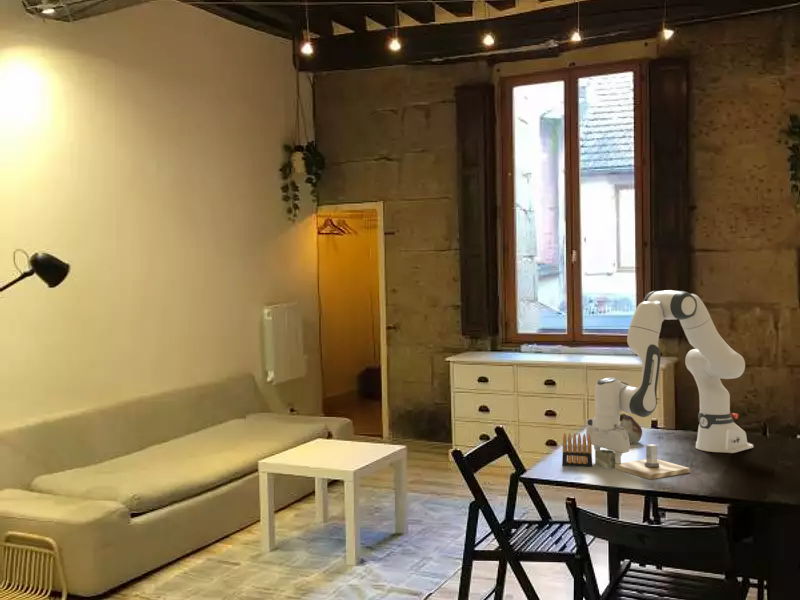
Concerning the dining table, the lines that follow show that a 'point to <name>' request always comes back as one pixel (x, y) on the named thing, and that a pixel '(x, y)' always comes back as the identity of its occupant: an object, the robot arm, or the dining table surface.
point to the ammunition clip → (577, 452)
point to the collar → (605, 458)
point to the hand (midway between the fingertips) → (607, 460)
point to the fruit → (632, 429)
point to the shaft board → (652, 466)
